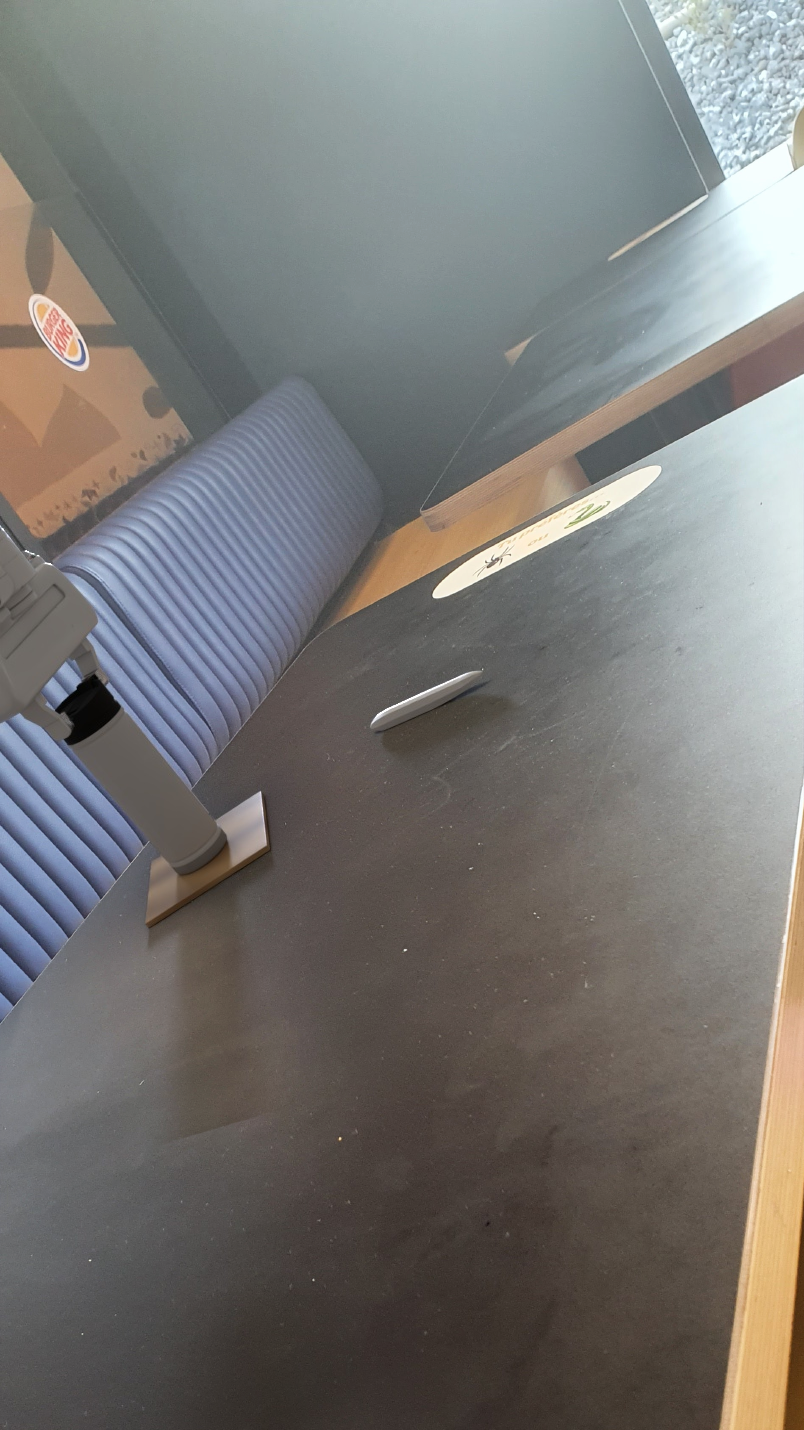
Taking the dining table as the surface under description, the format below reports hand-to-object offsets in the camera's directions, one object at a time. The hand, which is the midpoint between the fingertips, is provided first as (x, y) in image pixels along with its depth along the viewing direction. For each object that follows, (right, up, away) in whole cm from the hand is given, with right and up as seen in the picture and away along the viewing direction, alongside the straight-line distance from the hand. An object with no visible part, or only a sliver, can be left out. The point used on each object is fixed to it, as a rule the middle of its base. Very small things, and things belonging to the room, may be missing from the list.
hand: (85, 710), depth 107 cm
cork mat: (+9, -14, +9) cm, 19 cm away
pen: (+32, +1, +9) cm, 33 cm away
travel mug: (+9, -13, +9) cm, 19 cm away
